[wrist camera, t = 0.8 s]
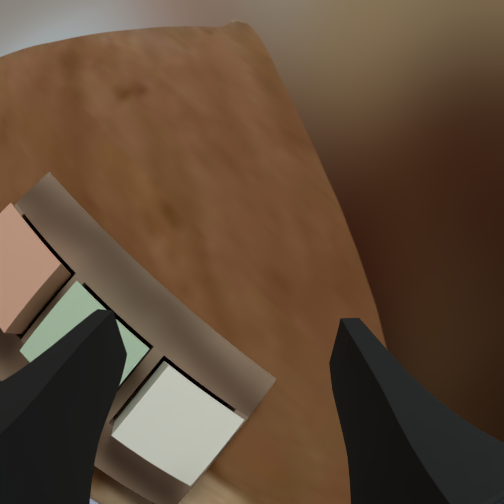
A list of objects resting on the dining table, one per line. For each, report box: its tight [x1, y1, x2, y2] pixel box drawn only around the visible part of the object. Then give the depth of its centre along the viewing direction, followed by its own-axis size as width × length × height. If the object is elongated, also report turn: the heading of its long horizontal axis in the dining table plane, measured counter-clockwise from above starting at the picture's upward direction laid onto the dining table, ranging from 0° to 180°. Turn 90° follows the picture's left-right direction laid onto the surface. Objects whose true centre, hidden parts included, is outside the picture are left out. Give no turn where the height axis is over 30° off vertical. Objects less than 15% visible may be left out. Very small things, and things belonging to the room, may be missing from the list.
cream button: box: [111, 361, 244, 486], centre depth 18 cm, size 6×6×4 cm
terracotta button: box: [0, 203, 72, 334], centre depth 16 cm, size 6×6×4 cm
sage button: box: [20, 281, 149, 384], centre depth 17 cm, size 6×6×4 cm
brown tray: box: [0, 172, 276, 504], centre depth 19 cm, size 14×24×2 cm, turn 52°
